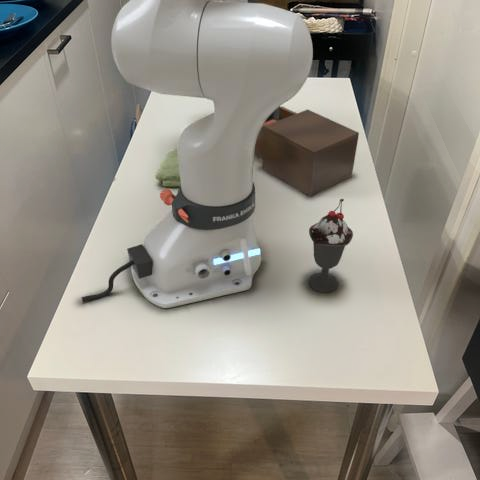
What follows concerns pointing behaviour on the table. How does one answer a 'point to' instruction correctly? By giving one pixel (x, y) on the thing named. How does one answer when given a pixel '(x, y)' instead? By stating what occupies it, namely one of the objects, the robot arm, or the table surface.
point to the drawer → (276, 115)
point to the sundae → (328, 248)
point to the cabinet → (309, 151)
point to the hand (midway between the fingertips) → (229, 97)
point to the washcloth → (170, 170)
